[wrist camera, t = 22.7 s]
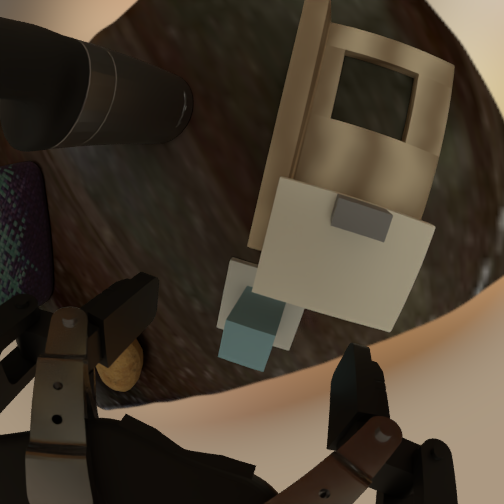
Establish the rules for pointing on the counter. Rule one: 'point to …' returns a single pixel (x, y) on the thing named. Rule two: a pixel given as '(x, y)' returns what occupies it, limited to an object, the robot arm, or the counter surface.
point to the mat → (244, 276)
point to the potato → (123, 368)
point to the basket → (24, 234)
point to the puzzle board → (347, 135)
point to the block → (251, 330)
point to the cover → (340, 254)
